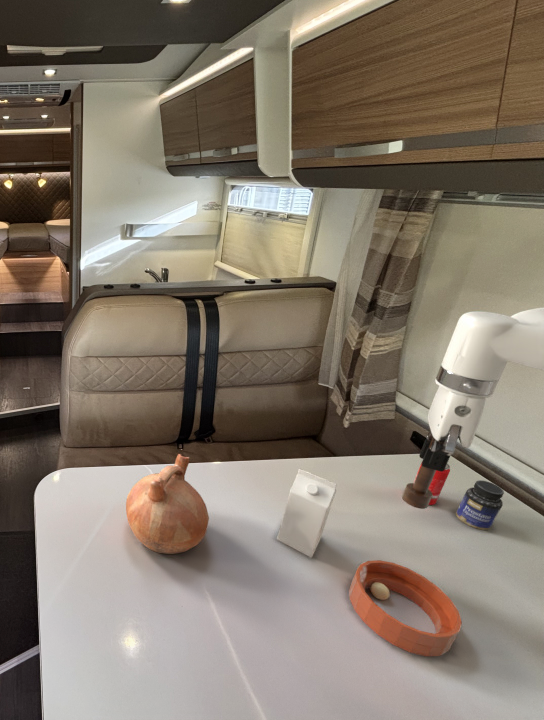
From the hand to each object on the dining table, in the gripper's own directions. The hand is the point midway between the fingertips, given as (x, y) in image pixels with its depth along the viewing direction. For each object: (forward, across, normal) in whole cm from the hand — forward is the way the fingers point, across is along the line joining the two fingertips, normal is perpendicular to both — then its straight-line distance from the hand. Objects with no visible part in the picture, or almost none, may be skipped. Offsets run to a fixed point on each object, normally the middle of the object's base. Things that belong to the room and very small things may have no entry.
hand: (430, 463), depth 83 cm
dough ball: (+25, -11, +3) cm, 28 cm away
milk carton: (+27, -4, +17) cm, 32 cm away
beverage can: (+27, +28, -8) cm, 40 cm away
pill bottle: (+27, +25, -17) cm, 41 cm away
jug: (+27, -20, +44) cm, 55 cm away
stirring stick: (+10, 0, 0) cm, 10 cm away
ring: (+27, -14, 0) cm, 30 cm away
